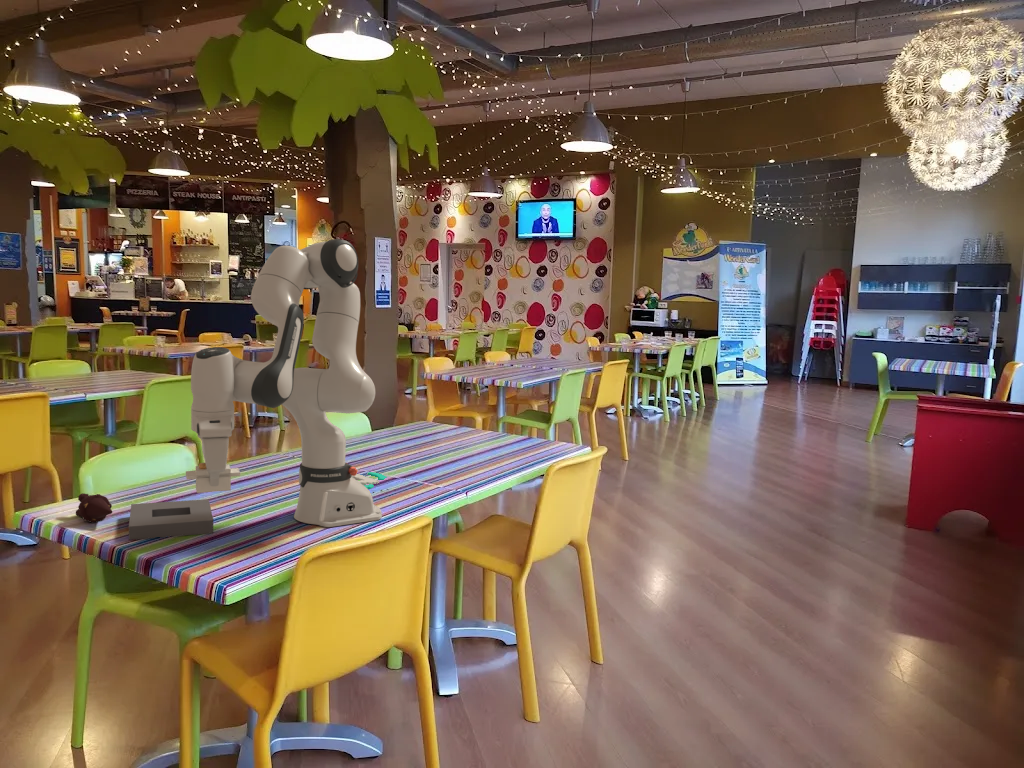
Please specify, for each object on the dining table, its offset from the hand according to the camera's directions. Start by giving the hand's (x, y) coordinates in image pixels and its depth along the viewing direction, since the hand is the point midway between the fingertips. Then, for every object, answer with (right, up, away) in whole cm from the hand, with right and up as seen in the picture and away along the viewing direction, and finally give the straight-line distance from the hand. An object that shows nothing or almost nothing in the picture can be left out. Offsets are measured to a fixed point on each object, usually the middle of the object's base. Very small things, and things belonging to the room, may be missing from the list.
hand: (213, 482), depth 166 cm
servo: (0, -2, 0) cm, 2 cm away
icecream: (-35, -12, +16) cm, 40 cm away
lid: (+17, -9, +64) cm, 67 cm away
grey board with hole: (-17, -13, +16) cm, 26 cm away
